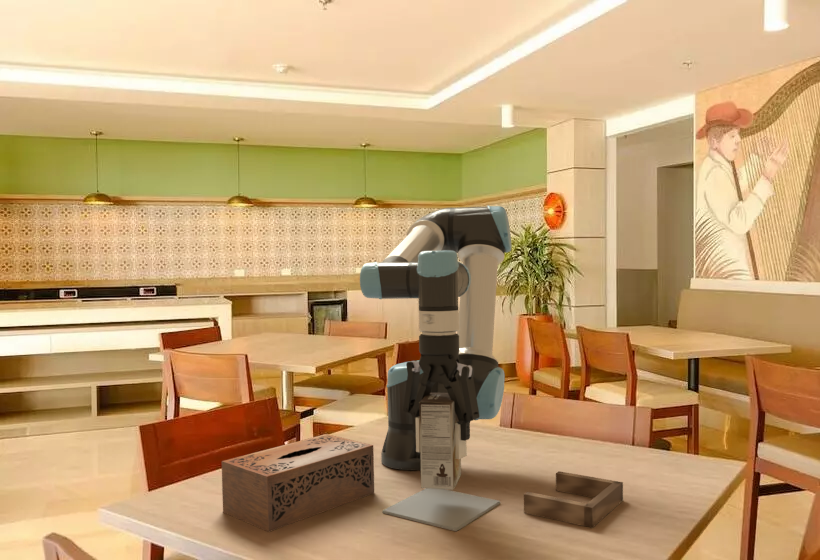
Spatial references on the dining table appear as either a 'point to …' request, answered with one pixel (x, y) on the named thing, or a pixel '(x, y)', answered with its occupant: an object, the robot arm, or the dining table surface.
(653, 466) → the dining table surface
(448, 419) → the coffee box
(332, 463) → the tissue box cover
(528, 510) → the wooden u-shaped frame
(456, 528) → the grey mat
